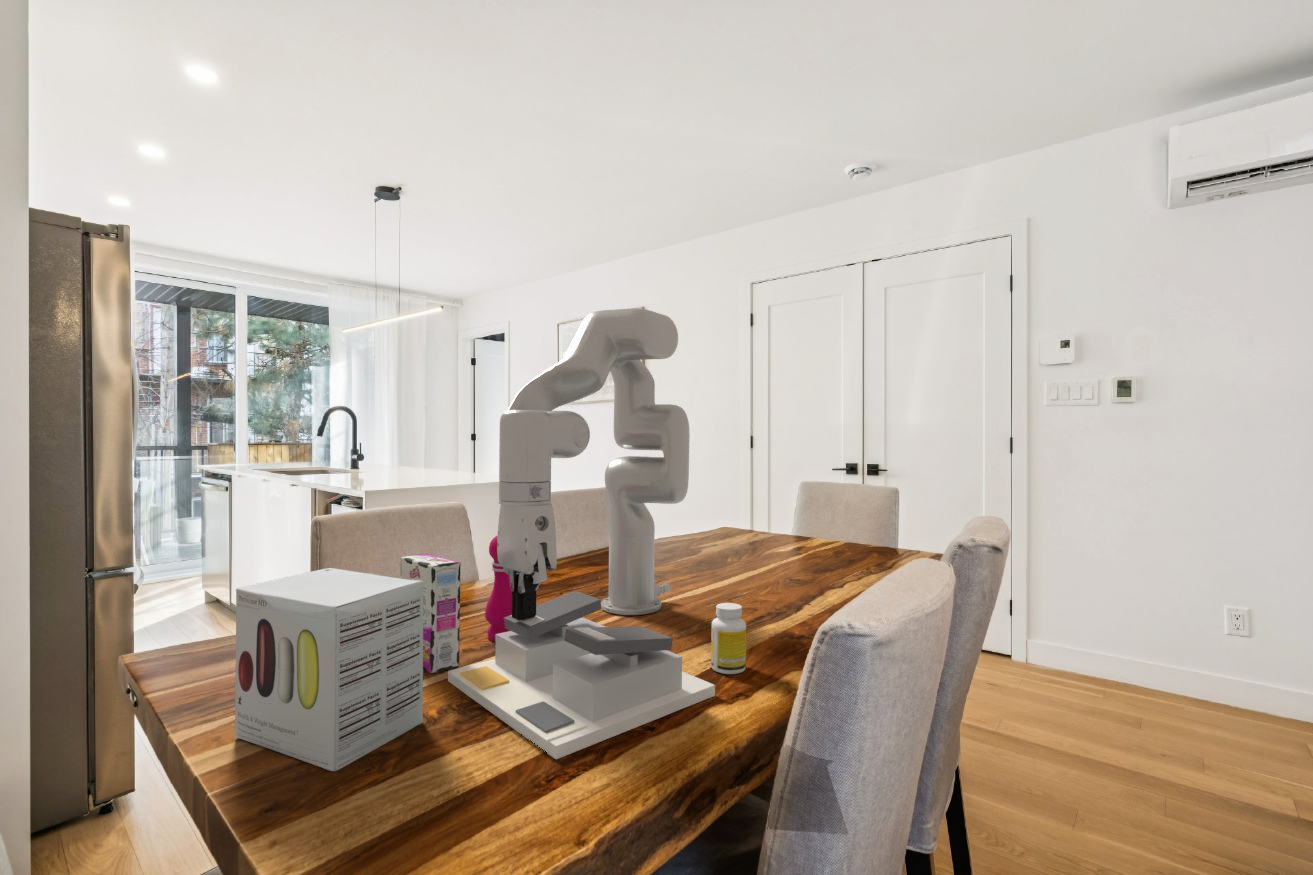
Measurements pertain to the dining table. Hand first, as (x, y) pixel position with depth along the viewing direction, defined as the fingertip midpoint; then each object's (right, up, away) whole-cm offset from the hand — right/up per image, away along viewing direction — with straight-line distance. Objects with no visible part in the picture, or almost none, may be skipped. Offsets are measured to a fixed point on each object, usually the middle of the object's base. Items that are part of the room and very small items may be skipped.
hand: (523, 617), depth 92 cm
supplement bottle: (+31, -10, +5) cm, 33 cm away
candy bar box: (-17, -9, +7) cm, 20 cm away
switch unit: (+8, -9, -3) cm, 13 cm away
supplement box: (-20, -9, -16) cm, 27 cm away
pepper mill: (-7, -9, +19) cm, 22 cm away
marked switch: (+4, -1, +4) cm, 5 cm away
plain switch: (+15, -1, -8) cm, 17 cm away
